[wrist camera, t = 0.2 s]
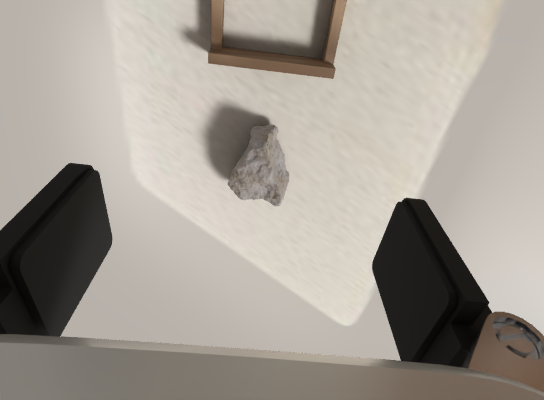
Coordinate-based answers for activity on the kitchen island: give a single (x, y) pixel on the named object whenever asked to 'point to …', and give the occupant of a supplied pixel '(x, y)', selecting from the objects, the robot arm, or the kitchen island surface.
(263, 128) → the stone
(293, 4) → the kitchen island surface
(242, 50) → the wooden roller rack
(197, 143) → the kitchen island surface
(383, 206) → the kitchen island surface
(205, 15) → the kitchen island surface
